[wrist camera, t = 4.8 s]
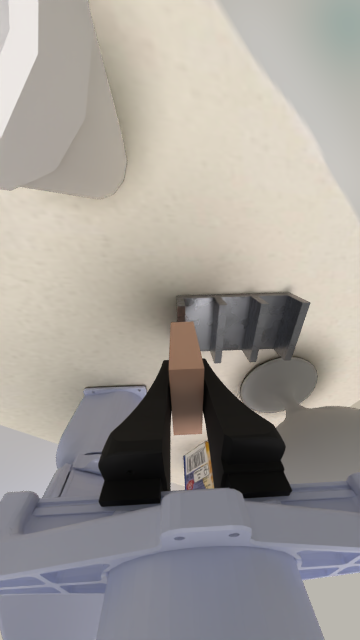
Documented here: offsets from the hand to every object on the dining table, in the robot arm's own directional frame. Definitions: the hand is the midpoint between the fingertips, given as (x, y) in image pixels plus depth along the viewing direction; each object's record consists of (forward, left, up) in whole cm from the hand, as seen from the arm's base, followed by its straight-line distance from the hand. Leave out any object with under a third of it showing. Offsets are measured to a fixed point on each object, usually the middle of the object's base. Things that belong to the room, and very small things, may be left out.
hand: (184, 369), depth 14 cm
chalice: (+15, -12, -9) cm, 22 cm away
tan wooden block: (0, 0, -3) cm, 3 cm away
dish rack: (+6, 0, -9) cm, 11 cm away
